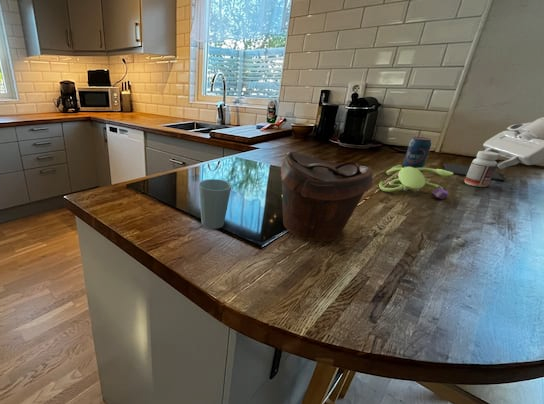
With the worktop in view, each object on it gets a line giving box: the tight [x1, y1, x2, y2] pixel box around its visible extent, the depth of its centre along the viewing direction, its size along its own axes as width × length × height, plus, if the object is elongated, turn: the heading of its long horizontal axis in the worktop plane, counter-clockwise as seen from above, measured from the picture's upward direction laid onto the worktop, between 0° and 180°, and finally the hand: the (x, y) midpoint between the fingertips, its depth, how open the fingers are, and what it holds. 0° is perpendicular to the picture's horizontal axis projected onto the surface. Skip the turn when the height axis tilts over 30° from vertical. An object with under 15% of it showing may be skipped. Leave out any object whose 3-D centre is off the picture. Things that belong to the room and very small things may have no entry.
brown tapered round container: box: [279, 150, 374, 242], centre depth 68 cm, size 18×20×18 cm
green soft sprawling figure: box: [378, 164, 455, 200], centre depth 99 cm, size 18×27×6 cm
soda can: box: [402, 136, 432, 168], centre depth 120 cm, size 7×7×12 cm
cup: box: [198, 178, 232, 230], centre depth 72 cm, size 8×8×10 cm
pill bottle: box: [463, 150, 500, 188], centre depth 102 cm, size 6×6×11 cm
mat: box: [443, 163, 505, 182], centre depth 117 cm, size 16×14×1 cm
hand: (487, 163), depth 101 cm, fingers open, 8 cm apart
